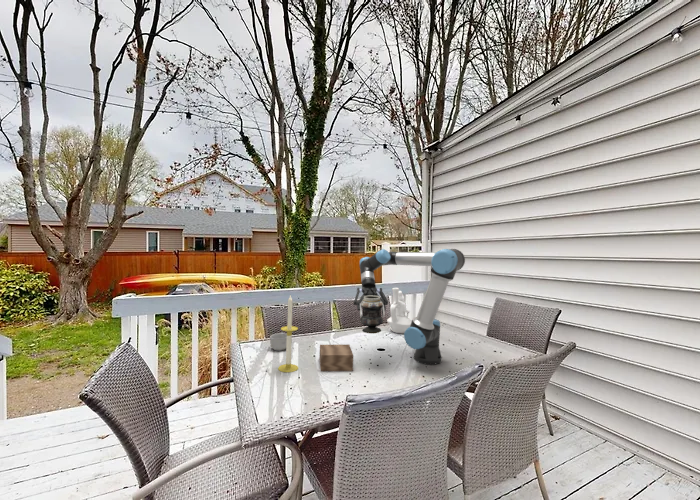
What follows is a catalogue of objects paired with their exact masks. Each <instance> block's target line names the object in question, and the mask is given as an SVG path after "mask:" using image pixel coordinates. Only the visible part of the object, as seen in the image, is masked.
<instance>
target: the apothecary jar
mask: <svg viewBox="0 0 700 500" xmlns="http://www.w3.org/2000/svg"><path fill="white" fill-rule="evenodd" d="M379 296H380V295H379ZM379 296H373V295H368V296H364V299H363V300H362V302H361V303H360V304H361V307H362V317H359V319H360V320H359V321H360V323H361V324H362V325H363V326H366V327H364V328H363V329H362V332H363V333H365V334H379V333H381V332H382V329H381V328H380V327H378V326H380V325H382V324H383V323H384V317H382V310H381V308H382V307H383V302H382V301H381V300H380V297H381V296H380V297H379Z"/></svg>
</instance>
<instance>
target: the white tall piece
mask: <svg viewBox="0 0 700 500" xmlns="http://www.w3.org/2000/svg"><path fill="white" fill-rule="evenodd" d="M391 289H392V304H391V305H390V307H389V311H390V317H389V318H387V319H386V321H387V323H388V326H389V328H390V329H391V331H392V332H393V333H397V334H404V333H405V331H406V329H407V328H409V327H410V325H411V322H412V320H411V319H410V318H409V314H410V312H411V311H410V310H409V309H407V305H406V302H405V301H406V300H405V296H404V294H403V291H402V290H400V288H399V287H393V288H391ZM405 314H406V315H405Z"/></svg>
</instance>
